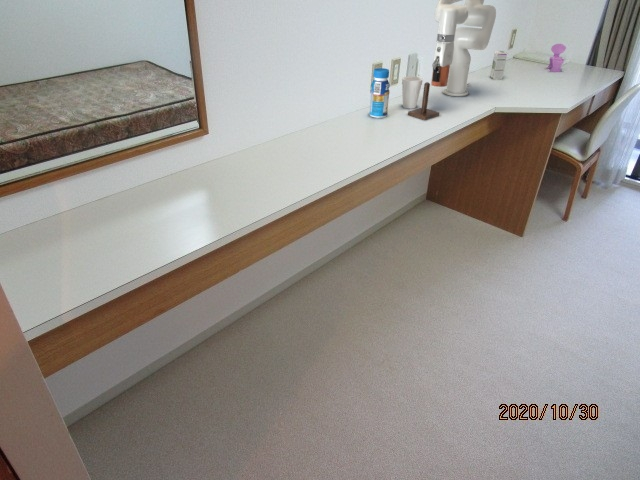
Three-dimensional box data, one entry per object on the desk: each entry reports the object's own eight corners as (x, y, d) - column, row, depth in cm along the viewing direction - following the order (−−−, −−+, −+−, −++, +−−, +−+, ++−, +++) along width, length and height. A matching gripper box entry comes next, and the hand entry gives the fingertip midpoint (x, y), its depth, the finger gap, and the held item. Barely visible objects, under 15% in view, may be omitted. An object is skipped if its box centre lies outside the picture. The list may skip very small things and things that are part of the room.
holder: (421, 110, 211) (425, 78, 203) (439, 115, 205) (443, 82, 197) (407, 114, 206) (411, 82, 198) (424, 120, 200) (429, 86, 192)
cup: (437, 82, 213) (440, 62, 208) (450, 85, 208) (453, 64, 203) (428, 84, 209) (430, 64, 204) (440, 87, 204) (443, 66, 199)
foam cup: (419, 110, 212) (422, 81, 205) (399, 108, 214) (401, 80, 207) (419, 104, 220) (422, 76, 213) (400, 103, 221) (402, 75, 214)
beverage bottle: (365, 113, 207) (368, 68, 196) (381, 111, 210) (385, 66, 199) (374, 119, 201) (377, 72, 190) (391, 116, 203) (395, 70, 193)
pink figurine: (548, 71, 277) (555, 45, 269) (544, 68, 285) (551, 43, 277) (562, 72, 276) (569, 46, 268) (558, 69, 284) (565, 43, 275)
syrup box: (502, 79, 262) (508, 52, 254) (492, 79, 262) (497, 52, 254) (499, 76, 267) (504, 50, 259) (489, 76, 267) (494, 50, 259)
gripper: (444, 41, 190) (438, 84, 199) (462, 36, 201) (455, 77, 211) (428, 39, 194) (423, 82, 204) (447, 35, 205) (441, 75, 215)
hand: (439, 79), depth 207 cm, fingers closed on cup, 7 cm apart
